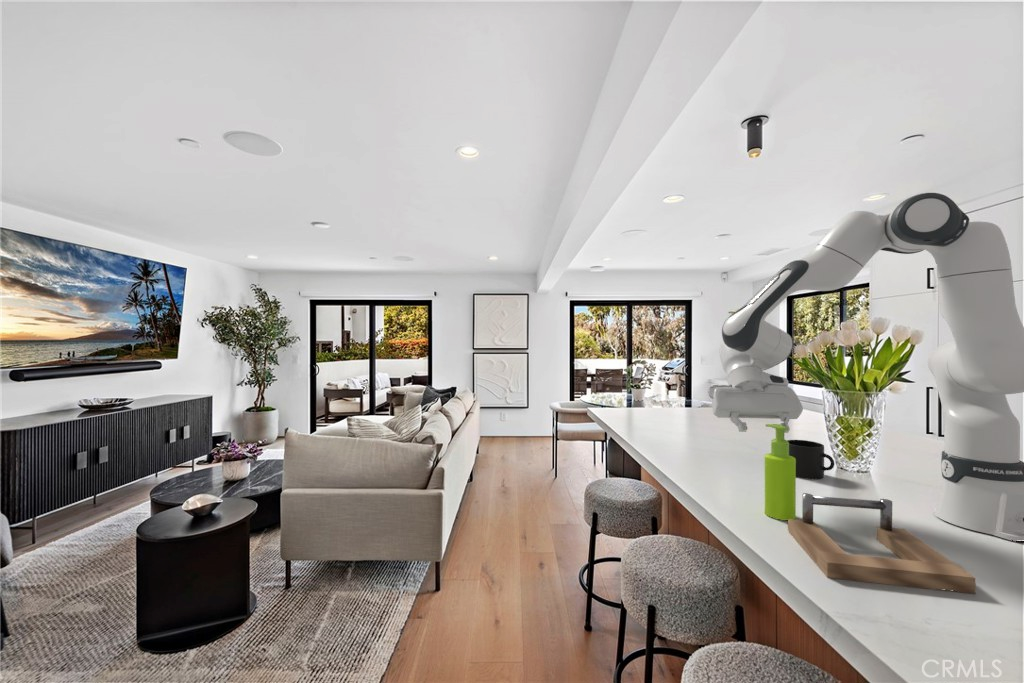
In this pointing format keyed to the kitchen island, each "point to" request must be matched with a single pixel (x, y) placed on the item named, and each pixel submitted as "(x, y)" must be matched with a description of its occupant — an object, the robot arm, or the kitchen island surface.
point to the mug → (809, 459)
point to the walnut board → (884, 560)
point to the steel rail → (882, 505)
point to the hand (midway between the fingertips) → (764, 431)
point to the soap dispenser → (780, 478)
